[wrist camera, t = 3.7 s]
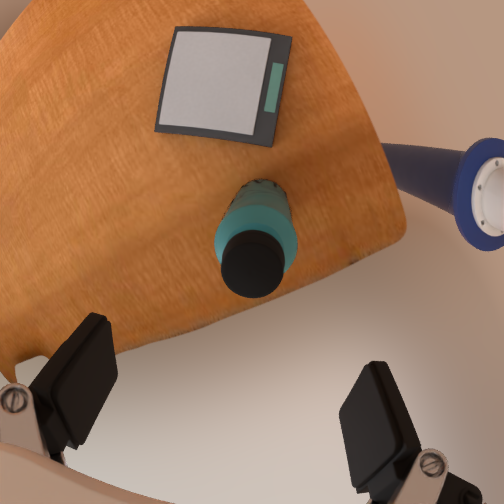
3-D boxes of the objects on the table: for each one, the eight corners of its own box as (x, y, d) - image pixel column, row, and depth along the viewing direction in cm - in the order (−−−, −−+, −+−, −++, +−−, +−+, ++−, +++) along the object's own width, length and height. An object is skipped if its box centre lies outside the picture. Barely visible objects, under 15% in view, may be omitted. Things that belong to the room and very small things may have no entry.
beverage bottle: (295, 186, 35) (324, 238, 16) (277, 234, 37) (284, 329, 19) (244, 169, 35) (214, 202, 16) (228, 218, 37) (188, 300, 18)
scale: (291, 42, 28) (292, 34, 26) (271, 147, 34) (271, 147, 31) (180, 32, 28) (173, 24, 25) (160, 132, 33) (152, 131, 31)
